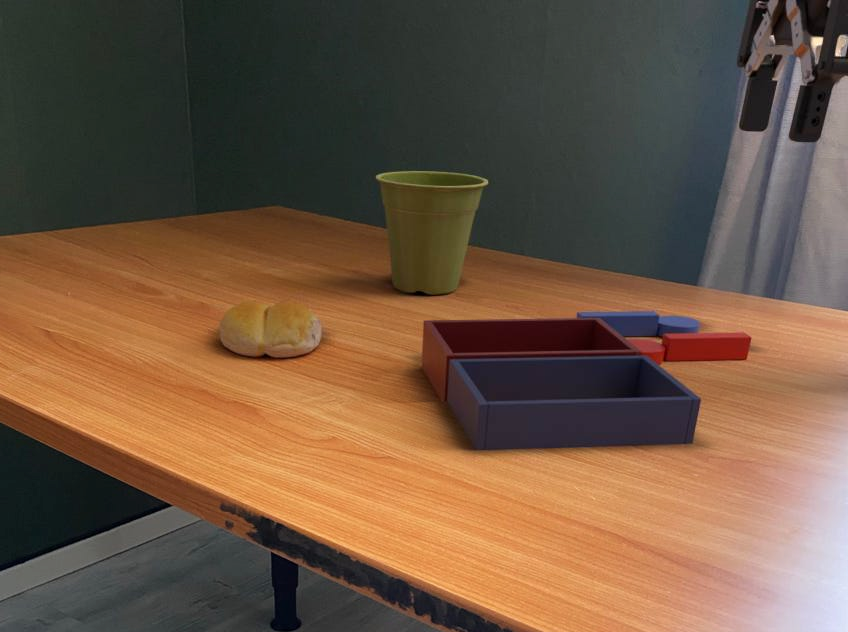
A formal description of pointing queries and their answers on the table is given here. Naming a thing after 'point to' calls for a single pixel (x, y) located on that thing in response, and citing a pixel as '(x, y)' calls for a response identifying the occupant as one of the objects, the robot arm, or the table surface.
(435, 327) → the red bin
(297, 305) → the bread roll
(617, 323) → the spoon blue
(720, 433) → the table surface
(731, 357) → the spoon red
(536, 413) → the blue bin
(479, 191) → the plant pot
